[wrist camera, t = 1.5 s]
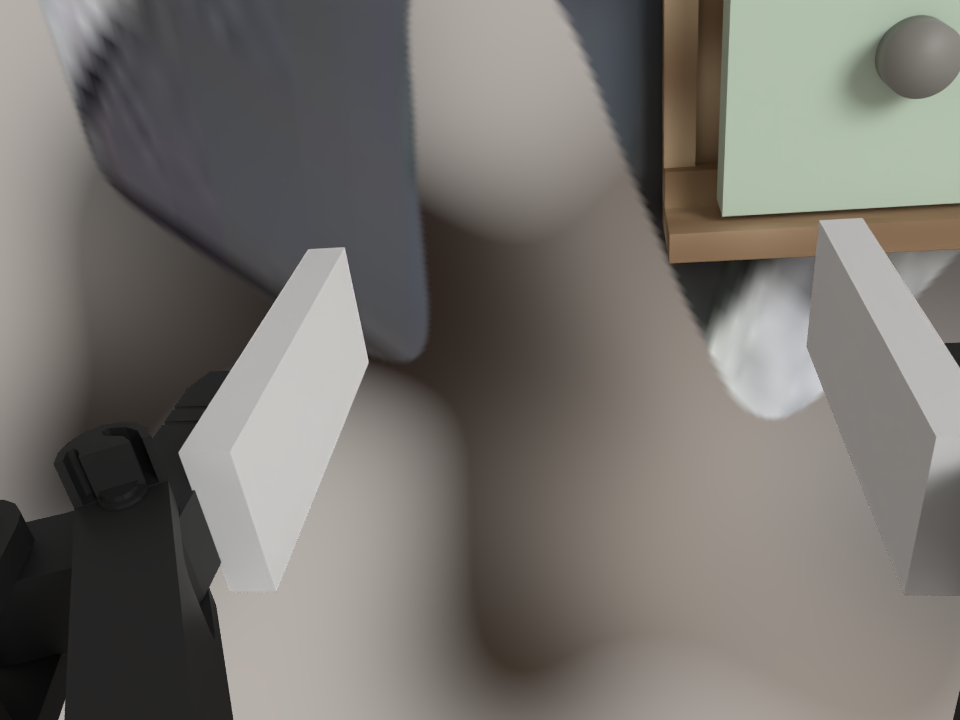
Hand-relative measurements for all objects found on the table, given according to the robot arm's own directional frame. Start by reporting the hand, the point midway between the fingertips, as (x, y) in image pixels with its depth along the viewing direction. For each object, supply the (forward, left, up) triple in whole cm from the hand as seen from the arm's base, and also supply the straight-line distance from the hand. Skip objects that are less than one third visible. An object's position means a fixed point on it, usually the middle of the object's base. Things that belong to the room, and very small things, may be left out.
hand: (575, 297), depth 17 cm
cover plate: (0, +11, -18) cm, 21 cm away
